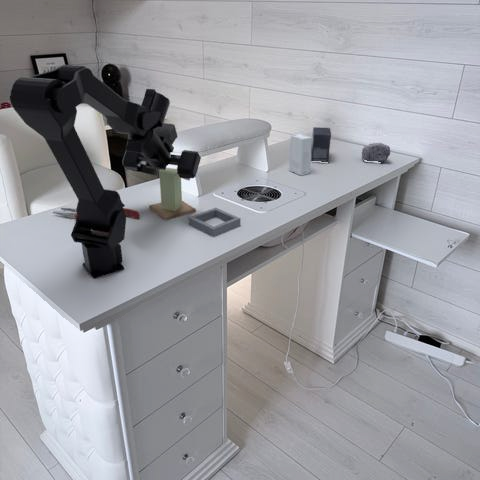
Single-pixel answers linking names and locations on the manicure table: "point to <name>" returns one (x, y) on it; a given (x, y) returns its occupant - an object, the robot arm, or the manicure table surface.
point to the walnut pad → (172, 214)
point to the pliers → (73, 214)
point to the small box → (320, 144)
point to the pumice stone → (376, 152)
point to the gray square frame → (230, 224)
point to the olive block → (170, 189)
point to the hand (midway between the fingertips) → (173, 176)
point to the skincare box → (300, 154)
